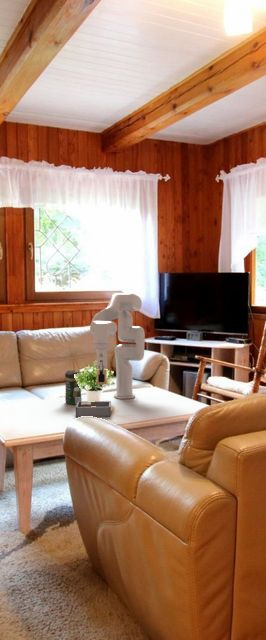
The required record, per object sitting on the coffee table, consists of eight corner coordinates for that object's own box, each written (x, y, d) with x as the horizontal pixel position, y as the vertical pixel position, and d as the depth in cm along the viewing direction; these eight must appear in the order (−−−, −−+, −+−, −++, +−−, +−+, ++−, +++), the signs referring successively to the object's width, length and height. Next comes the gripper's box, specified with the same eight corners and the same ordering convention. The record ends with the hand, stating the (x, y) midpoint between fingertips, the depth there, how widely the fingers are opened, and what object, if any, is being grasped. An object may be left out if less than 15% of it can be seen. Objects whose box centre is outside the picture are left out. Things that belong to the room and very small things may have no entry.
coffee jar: (63, 402, 304) (63, 370, 303) (76, 400, 308) (75, 369, 307) (70, 405, 296) (70, 372, 295) (83, 404, 300) (83, 371, 299)
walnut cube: (91, 411, 281) (91, 402, 281) (90, 413, 276) (90, 404, 276) (81, 411, 281) (81, 402, 281) (80, 413, 276) (80, 404, 276)
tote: (78, 410, 285) (78, 401, 285) (111, 410, 285) (110, 401, 285) (75, 417, 272) (75, 407, 271) (110, 416, 272) (110, 407, 272)
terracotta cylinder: (106, 382, 280) (106, 369, 280) (106, 384, 275) (106, 371, 275) (97, 383, 280) (96, 369, 279) (96, 384, 275) (96, 371, 274)
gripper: (108, 348, 268) (108, 384, 269) (109, 344, 285) (109, 378, 286) (93, 348, 267) (93, 384, 269) (95, 344, 284) (95, 378, 286)
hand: (101, 380), depth 277 cm, fingers closed on terracotta cylinder, 5 cm apart
